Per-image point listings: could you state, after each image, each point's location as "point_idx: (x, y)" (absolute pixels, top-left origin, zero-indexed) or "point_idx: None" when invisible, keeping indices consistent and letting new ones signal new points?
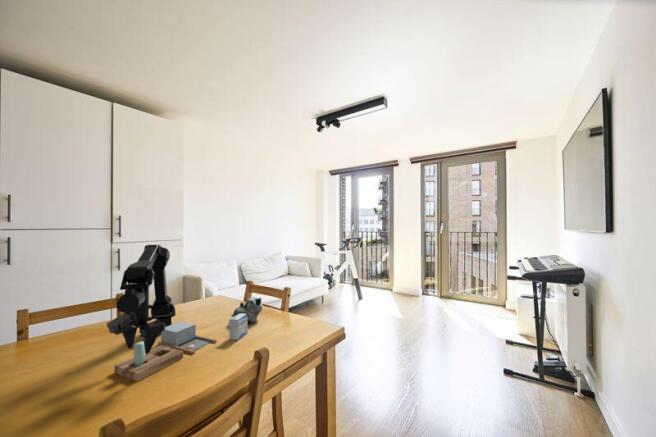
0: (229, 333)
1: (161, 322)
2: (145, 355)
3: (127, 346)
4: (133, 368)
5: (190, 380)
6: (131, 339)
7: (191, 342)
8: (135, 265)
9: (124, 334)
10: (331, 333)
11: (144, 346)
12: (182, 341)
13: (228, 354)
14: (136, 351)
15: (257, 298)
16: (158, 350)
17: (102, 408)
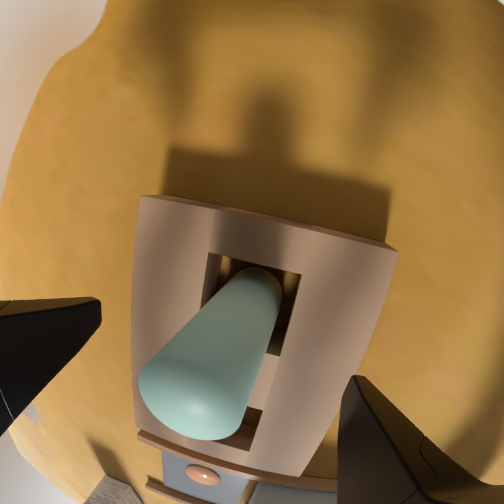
0: (122, 498)
1: None
2: (292, 396)
3: (372, 384)
4: (216, 241)
5: (23, 256)
6: (354, 457)
7: (228, 495)
8: None
9: (431, 486)
10: (12, 439)
11: (42, 307)
12: (251, 498)
13: (57, 406)
14: (195, 323)
15: None
16: (265, 442)
17: (149, 24)
